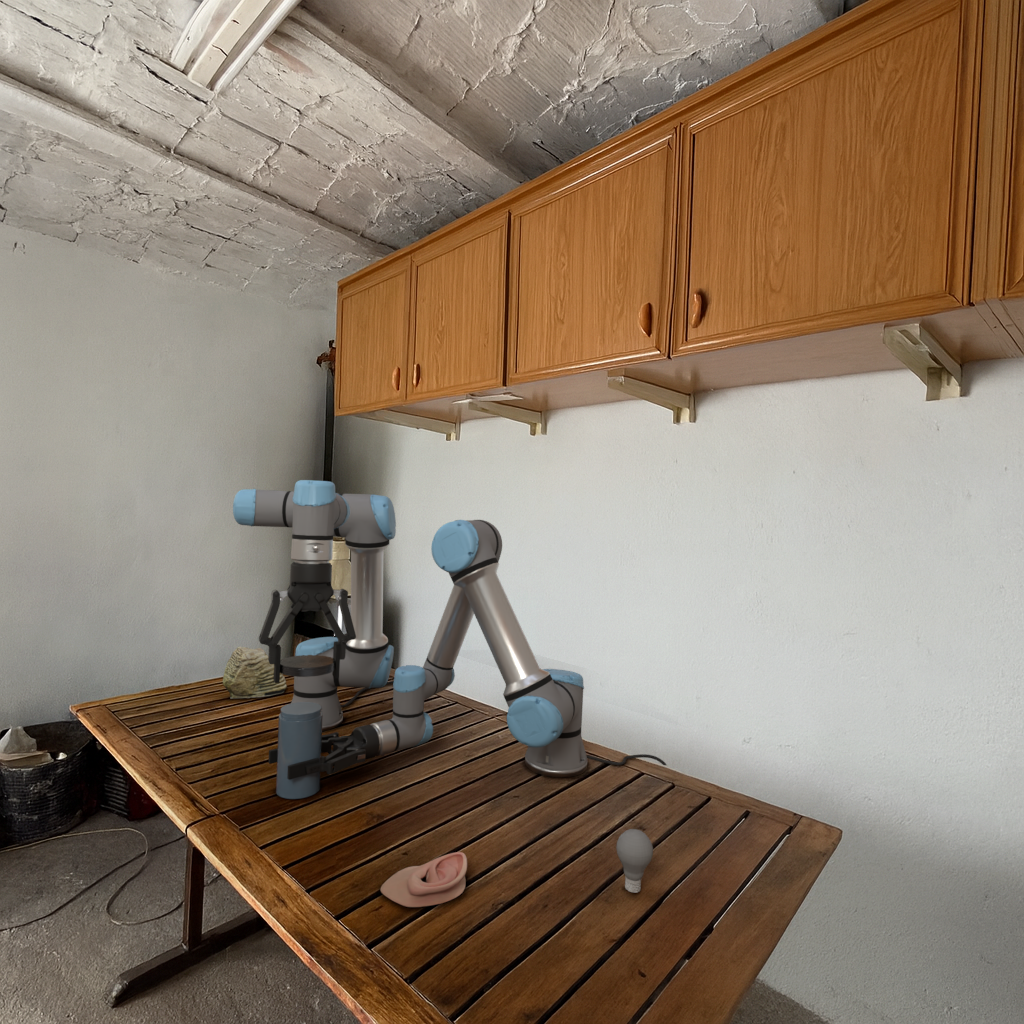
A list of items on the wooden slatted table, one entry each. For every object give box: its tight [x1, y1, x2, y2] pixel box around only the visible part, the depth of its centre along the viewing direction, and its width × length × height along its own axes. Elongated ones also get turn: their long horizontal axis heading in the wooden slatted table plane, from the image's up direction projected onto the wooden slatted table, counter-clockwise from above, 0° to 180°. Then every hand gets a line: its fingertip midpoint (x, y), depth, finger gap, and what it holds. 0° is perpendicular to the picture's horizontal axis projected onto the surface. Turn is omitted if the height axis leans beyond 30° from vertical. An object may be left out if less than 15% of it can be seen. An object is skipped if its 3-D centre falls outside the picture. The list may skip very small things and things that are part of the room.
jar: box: [275, 702, 323, 800], centre depth 137 cm, size 9×9×18 cm
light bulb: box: [615, 828, 654, 894], centre depth 106 cm, size 6×6×10 cm
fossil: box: [222, 646, 288, 699], centre depth 198 cm, size 9×18×15 cm, turn 132°
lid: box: [280, 655, 335, 677], centre depth 120 cm, size 10×10×2 cm
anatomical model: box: [380, 851, 468, 908], centre depth 104 cm, size 13×4×12 cm
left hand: (306, 678), depth 120 cm, fingers closed on lid, 10 cm apart
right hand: (278, 764), depth 134 cm, fingers closed on jar, 9 cm apart
